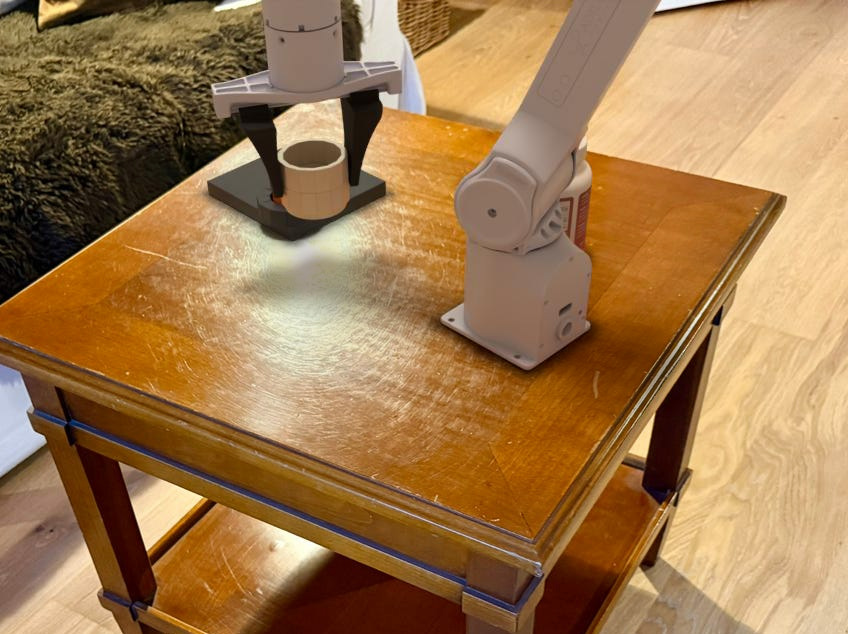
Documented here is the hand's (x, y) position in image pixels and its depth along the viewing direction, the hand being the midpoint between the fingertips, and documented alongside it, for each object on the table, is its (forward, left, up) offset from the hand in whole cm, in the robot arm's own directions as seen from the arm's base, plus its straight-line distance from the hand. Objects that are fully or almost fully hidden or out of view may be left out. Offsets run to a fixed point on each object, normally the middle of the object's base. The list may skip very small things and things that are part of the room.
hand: (315, 186), depth 84 cm
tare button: (+9, -4, -6) cm, 11 cm away
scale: (+12, -8, -8) cm, 17 cm away
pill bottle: (-13, -16, -9) cm, 22 cm away
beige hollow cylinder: (0, 0, -2) cm, 2 cm away
